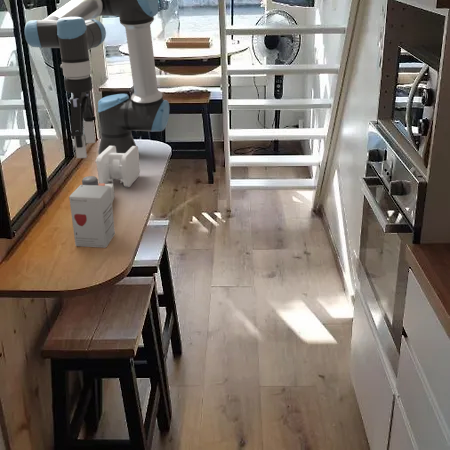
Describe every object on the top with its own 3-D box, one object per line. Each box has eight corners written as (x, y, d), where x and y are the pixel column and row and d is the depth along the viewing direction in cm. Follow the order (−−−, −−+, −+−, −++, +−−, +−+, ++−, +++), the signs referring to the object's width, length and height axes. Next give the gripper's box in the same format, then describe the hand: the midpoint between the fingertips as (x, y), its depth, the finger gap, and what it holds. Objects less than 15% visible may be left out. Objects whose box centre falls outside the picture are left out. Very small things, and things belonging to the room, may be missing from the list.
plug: (98, 206, 187) (94, 174, 183) (103, 211, 184) (99, 179, 179) (83, 209, 185) (79, 177, 181) (88, 215, 182) (84, 182, 177)
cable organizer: (127, 191, 203) (124, 158, 198) (97, 189, 205) (94, 157, 200) (141, 175, 216) (138, 144, 211) (112, 174, 218) (109, 143, 213)
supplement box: (74, 246, 167) (67, 196, 160) (85, 232, 175) (79, 184, 168) (106, 248, 165) (100, 197, 159) (116, 234, 173) (111, 185, 167)
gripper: (73, 67, 179) (82, 137, 188) (52, 86, 157) (63, 164, 166) (98, 67, 179) (106, 136, 188) (82, 86, 157) (91, 164, 166)
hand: (86, 150), depth 177 cm, fingers open, 13 cm apart
